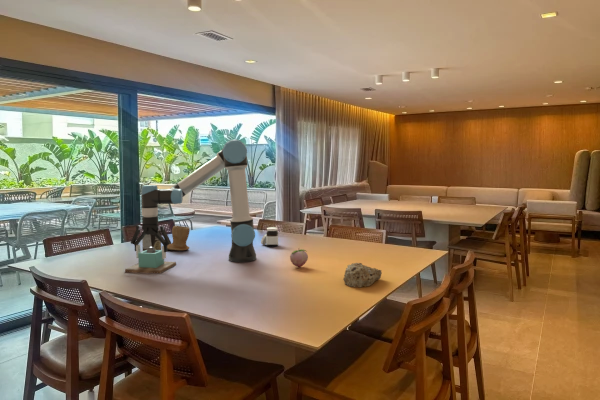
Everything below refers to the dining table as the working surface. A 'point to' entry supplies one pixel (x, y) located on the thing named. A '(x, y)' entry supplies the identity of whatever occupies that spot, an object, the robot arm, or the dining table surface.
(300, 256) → the decorative fruit
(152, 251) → the post
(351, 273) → the rock
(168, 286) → the dining table surface
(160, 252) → the teal hollow square block
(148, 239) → the coffee box
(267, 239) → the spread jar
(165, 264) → the base plate
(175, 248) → the brown piece
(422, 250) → the dining table surface
